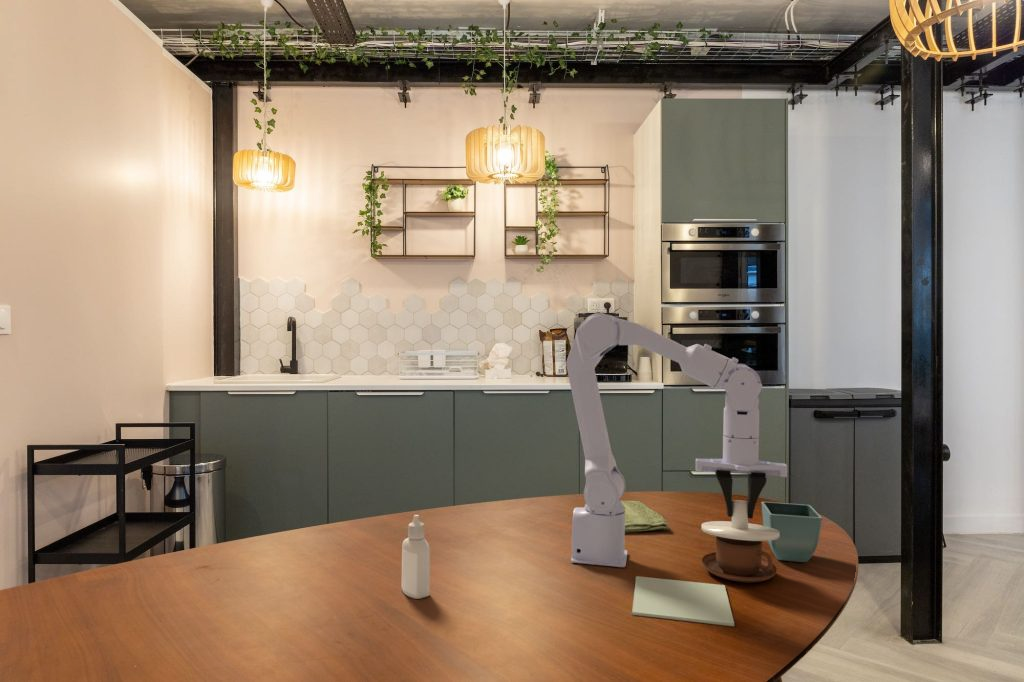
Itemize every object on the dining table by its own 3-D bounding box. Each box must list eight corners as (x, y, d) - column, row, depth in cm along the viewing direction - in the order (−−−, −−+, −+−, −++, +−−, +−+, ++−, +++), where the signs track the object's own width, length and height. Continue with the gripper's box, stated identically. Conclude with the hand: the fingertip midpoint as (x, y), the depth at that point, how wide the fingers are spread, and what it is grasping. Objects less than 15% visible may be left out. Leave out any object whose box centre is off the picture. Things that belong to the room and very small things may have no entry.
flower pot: (822, 568, 111) (823, 517, 111) (768, 564, 113) (769, 513, 113) (809, 551, 120) (810, 504, 120) (759, 547, 122) (760, 501, 121)
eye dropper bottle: (400, 600, 95) (401, 521, 95) (401, 585, 101) (402, 510, 101) (429, 599, 96) (430, 520, 95) (429, 585, 101) (430, 510, 101)
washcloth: (613, 537, 128) (613, 521, 128) (585, 512, 145) (586, 498, 145) (673, 534, 131) (673, 518, 131) (639, 510, 148) (639, 496, 148)
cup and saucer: (783, 572, 110) (783, 536, 109) (767, 595, 100) (767, 556, 100) (713, 557, 116) (713, 524, 116) (692, 577, 106) (692, 541, 106)
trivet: (632, 614, 91) (632, 611, 91) (636, 578, 105) (636, 576, 105) (734, 626, 88) (734, 623, 88) (724, 587, 102) (724, 585, 102)
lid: (700, 536, 103) (701, 503, 103) (702, 523, 115) (702, 494, 115) (783, 544, 99) (783, 510, 100) (776, 530, 111) (776, 499, 111)
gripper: (697, 437, 105) (696, 519, 105) (791, 442, 102) (789, 526, 102) (695, 431, 112) (694, 507, 112) (783, 435, 109) (782, 514, 109)
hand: (739, 516), depth 108 cm, fingers closed on lid, 3 cm apart
